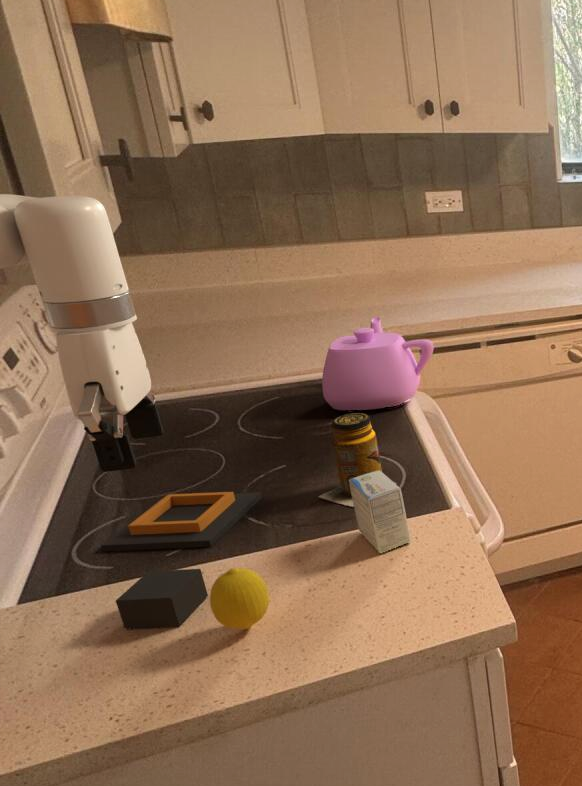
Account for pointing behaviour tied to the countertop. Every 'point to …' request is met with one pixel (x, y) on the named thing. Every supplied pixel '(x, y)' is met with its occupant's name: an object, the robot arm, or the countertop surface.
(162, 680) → the countertop surface
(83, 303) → the robot arm
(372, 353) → the teapot
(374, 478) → the medicine box
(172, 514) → the base pad
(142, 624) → the small block
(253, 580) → the lemon
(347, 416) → the condiment
